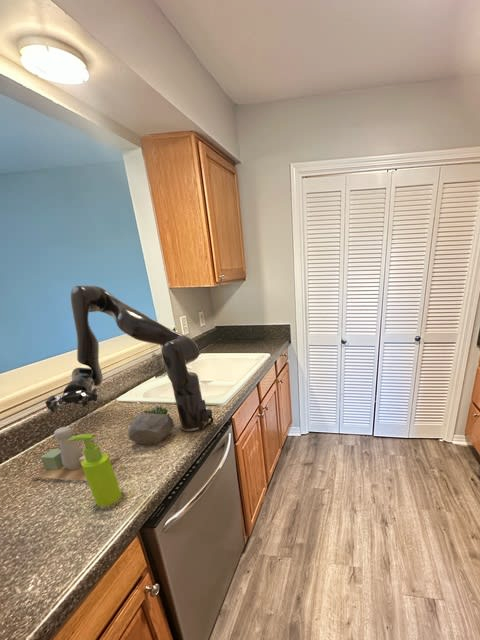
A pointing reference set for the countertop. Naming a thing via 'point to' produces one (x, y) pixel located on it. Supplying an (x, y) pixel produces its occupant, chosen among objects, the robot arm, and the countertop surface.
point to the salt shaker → (68, 449)
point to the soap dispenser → (98, 472)
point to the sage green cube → (52, 460)
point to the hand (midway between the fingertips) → (68, 406)
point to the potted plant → (151, 426)
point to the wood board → (65, 473)
